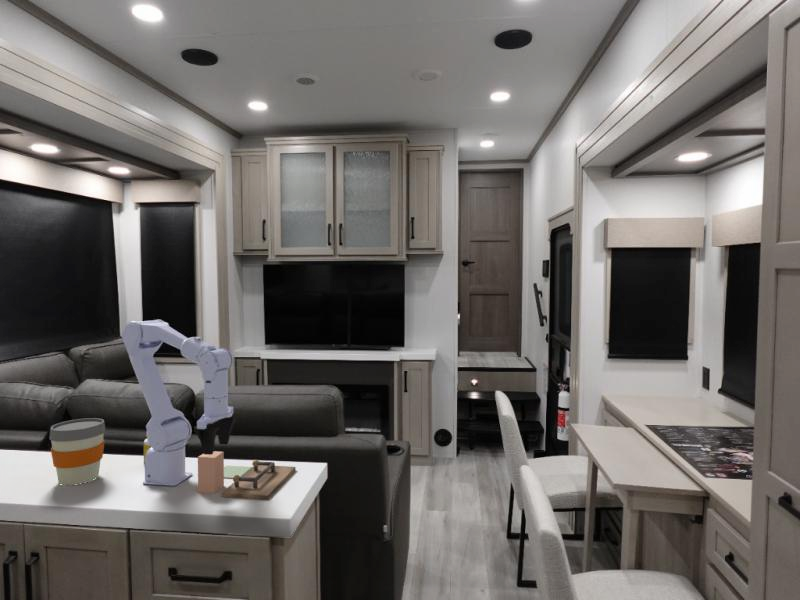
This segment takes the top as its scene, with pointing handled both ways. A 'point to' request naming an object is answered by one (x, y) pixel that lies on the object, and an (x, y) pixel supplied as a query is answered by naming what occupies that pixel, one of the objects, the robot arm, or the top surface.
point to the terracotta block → (210, 472)
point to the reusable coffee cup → (77, 449)
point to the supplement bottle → (146, 447)
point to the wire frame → (258, 481)
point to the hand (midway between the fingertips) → (216, 448)
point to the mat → (235, 471)
